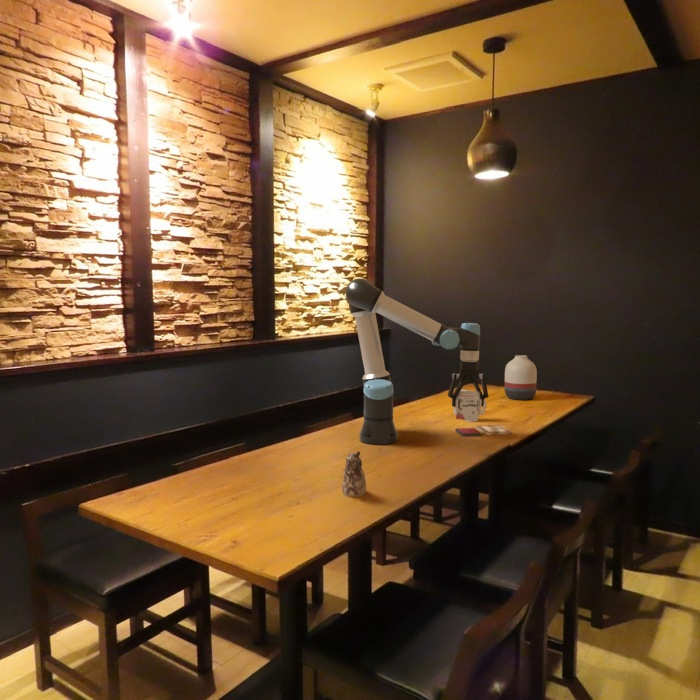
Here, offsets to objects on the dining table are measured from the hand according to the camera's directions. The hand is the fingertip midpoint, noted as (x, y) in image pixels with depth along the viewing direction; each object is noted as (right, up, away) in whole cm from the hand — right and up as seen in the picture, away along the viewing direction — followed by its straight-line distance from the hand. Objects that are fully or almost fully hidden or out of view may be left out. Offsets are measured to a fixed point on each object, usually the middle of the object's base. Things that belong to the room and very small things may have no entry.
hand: (467, 414), depth 248 cm
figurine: (-48, -15, -73) cm, 88 cm away
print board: (+12, -7, +5) cm, 15 cm away
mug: (+8, -6, +26) cm, 28 cm away
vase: (+45, 0, +83) cm, 94 cm away
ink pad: (+1, -8, +1) cm, 8 cm away
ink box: (0, -2, 0) cm, 2 cm away
